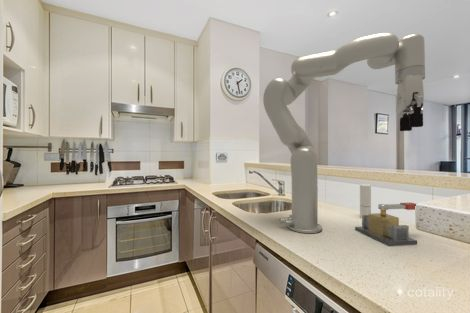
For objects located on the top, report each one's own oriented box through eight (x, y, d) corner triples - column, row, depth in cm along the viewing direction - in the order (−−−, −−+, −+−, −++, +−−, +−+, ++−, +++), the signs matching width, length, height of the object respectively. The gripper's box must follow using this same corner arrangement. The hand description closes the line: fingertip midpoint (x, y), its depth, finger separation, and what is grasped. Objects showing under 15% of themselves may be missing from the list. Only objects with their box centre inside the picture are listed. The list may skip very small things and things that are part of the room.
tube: (365, 219, 95) (365, 185, 95) (357, 217, 99) (357, 184, 99) (373, 219, 96) (373, 185, 96) (365, 216, 100) (365, 184, 100)
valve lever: (383, 210, 73) (383, 205, 73) (376, 208, 76) (376, 203, 76) (419, 209, 75) (419, 204, 75) (410, 207, 78) (410, 202, 78)
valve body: (388, 246, 66) (388, 216, 66) (355, 230, 81) (355, 205, 81) (417, 244, 68) (417, 214, 68) (379, 228, 82) (378, 204, 82)
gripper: (389, 86, 79) (389, 132, 79) (403, 68, 63) (404, 126, 63) (414, 83, 76) (415, 131, 76) (436, 63, 60) (437, 124, 60)
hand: (410, 129), depth 69 cm, fingers open, 9 cm apart
